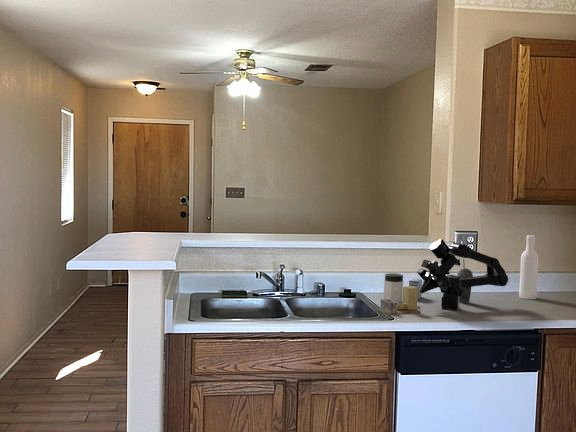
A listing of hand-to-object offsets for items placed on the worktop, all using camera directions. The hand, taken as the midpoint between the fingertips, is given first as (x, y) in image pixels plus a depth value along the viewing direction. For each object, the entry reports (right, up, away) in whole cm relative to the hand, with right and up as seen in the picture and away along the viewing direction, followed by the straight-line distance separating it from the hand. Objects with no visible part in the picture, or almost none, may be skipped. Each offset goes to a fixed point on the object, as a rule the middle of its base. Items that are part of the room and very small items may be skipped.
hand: (420, 292), depth 252 cm
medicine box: (+3, -6, +26) cm, 27 cm away
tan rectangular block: (-7, -6, -2) cm, 10 cm away
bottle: (+58, -7, +33) cm, 67 cm away
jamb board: (-9, -8, -3) cm, 12 cm away
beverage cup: (+24, -7, +19) cm, 31 cm away
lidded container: (-8, -6, +19) cm, 21 cm away
